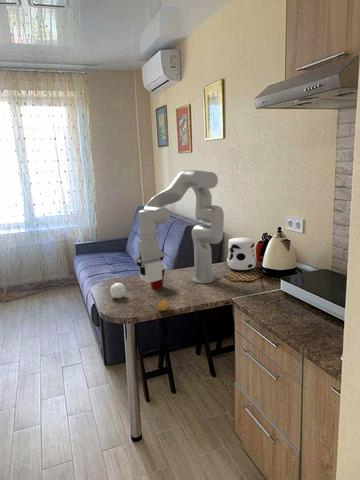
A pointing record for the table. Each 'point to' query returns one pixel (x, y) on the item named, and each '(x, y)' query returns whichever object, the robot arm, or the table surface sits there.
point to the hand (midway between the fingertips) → (150, 272)
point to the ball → (163, 305)
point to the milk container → (241, 254)
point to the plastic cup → (159, 283)
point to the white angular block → (152, 271)
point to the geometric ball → (117, 290)
